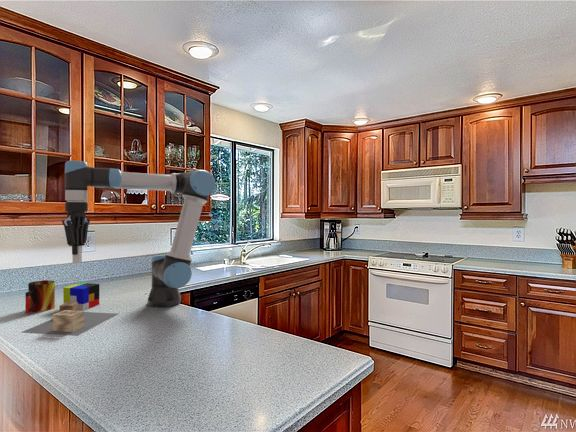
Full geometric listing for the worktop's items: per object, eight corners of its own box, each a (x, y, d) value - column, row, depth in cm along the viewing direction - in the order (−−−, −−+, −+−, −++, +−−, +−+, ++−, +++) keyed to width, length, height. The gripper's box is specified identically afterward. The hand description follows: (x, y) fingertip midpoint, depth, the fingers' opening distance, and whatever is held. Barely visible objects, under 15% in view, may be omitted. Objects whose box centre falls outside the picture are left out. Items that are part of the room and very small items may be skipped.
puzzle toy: (83, 311, 158) (83, 288, 157) (63, 309, 160) (63, 287, 159) (99, 305, 168) (99, 284, 167) (80, 303, 170) (80, 282, 169)
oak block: (72, 315, 132) (73, 332, 132) (83, 310, 138) (83, 326, 138) (52, 314, 133) (52, 330, 133) (64, 309, 139) (64, 325, 139)
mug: (25, 316, 150) (25, 287, 149) (29, 308, 162) (29, 281, 161) (53, 313, 154) (53, 285, 154) (55, 305, 166) (55, 279, 166)
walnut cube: (77, 313, 153) (77, 302, 153) (72, 317, 148) (72, 305, 148) (65, 314, 152) (65, 302, 152) (59, 317, 147) (59, 305, 147)
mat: (119, 314, 154) (119, 313, 154) (77, 336, 129) (77, 335, 129) (71, 311, 157) (71, 311, 157) (20, 333, 131) (20, 332, 131)
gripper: (78, 201, 145) (79, 259, 146) (54, 201, 132) (55, 265, 133) (96, 201, 145) (96, 260, 145) (74, 201, 132) (74, 265, 132)
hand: (77, 262), depth 139 cm, fingers closed
